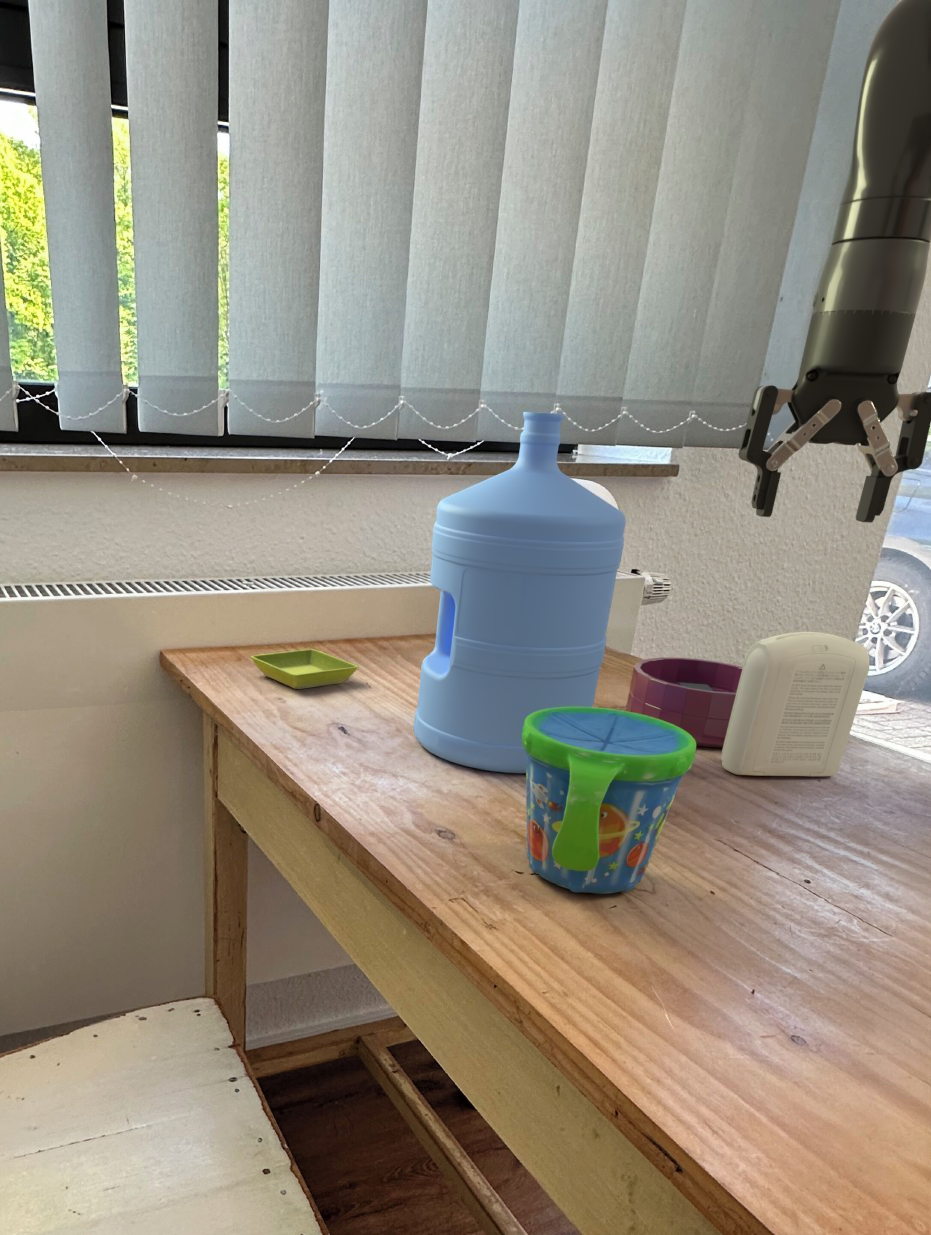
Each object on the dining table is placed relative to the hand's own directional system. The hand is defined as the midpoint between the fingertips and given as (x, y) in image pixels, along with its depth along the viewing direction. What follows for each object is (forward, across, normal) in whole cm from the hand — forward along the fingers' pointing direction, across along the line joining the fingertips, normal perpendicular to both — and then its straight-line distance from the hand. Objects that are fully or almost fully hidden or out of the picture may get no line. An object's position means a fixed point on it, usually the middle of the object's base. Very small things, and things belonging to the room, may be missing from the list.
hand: (813, 518), depth 84 cm
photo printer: (+21, -1, -8) cm, 22 cm away
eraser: (+20, -6, +3) cm, 21 cm away
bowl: (+21, -6, +3) cm, 22 cm away
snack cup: (+21, -21, -33) cm, 44 cm away
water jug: (+21, -26, -8) cm, 34 cm away
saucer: (+20, -46, +9) cm, 51 cm away
